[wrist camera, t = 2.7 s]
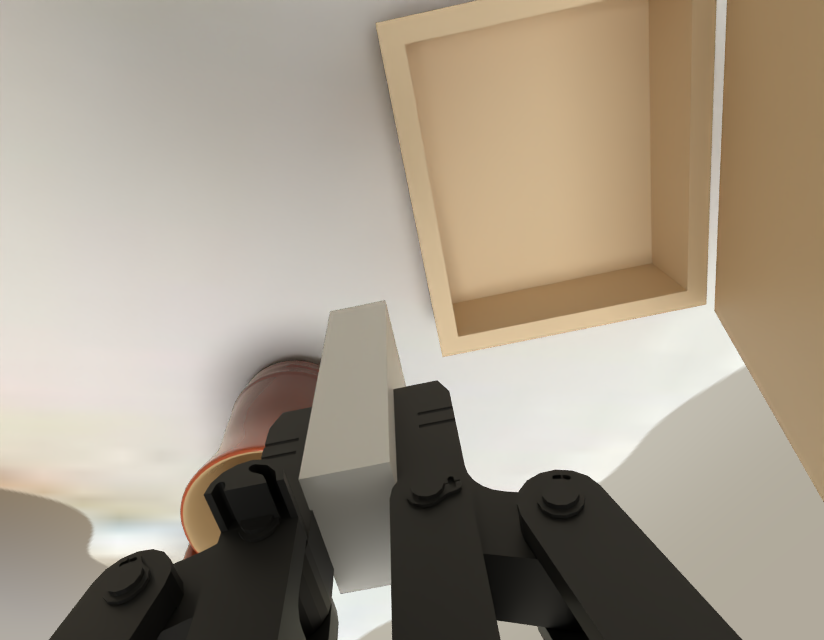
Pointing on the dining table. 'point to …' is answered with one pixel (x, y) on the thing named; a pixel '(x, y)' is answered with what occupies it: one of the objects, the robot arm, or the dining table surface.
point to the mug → (245, 440)
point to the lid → (776, 211)
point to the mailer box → (555, 160)
